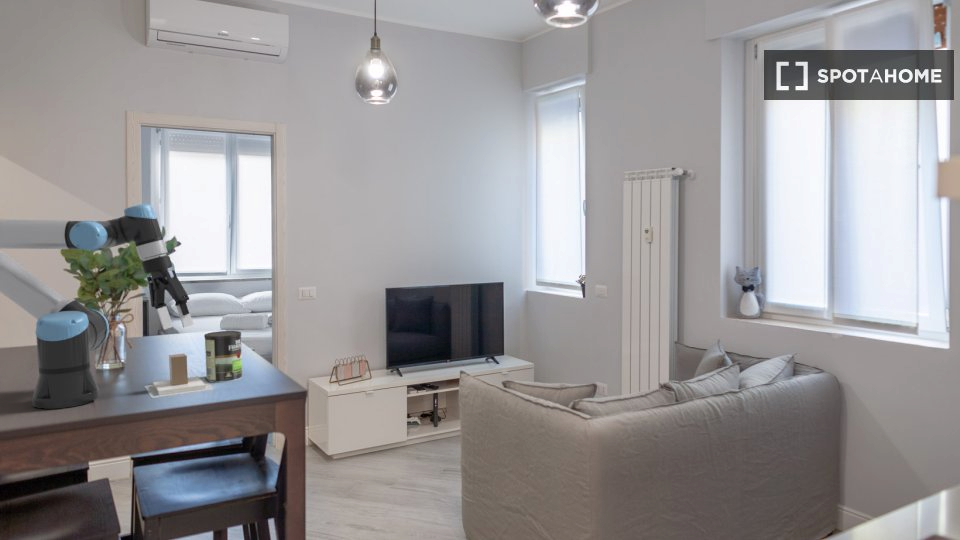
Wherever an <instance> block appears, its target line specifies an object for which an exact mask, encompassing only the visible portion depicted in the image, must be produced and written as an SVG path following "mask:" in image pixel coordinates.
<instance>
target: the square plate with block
mask: <svg viewBox="0 0 960 540" xmlns="http://www.w3.org/2000/svg"><path fill="white" fill-rule="evenodd" d="M187 360H188V355H187V354H185V353H176V354H169V355H168V362H169V363H168V364H169V365H168V366H169V379H168V380H161V381H153V382H152V385H153V387H154V389H155V390H156V392H157V393H158V395H165V394H172V393H180V392H187V391H194V390H201V389H206V384H205V383H204V382H203V381H202V380H201V379H202V378H200V377H199V376H191V377H188V361H187Z"/></svg>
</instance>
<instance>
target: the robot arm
mask: <svg viewBox="0 0 960 540" xmlns="http://www.w3.org/2000/svg"><path fill="white" fill-rule="evenodd" d="M123 213H124V215H123V216H121V217H118V218H112V219H108V220H104V221H101V220H99V221H97V220H96V221H94V220H52V219H51V220H49V219H48V220H47V219H44V220H43V219H40V220H39V219H7V218H6V219H4V218H3V219H1V218H0V293H1V294H2V295H4V296H5V297H6V298H7V299H9V300H10V301H12V303H15V304H16V305H17V306H18V307H19V308H21V309H23V310H24V311H25V312H27V313H28V314H30V315H31V316H32V317H33V318H34V319H36V320H37V321H36V325H35V326H36V328H35V336H36V349H37V351H36V352H37V364H38V378H37V381H36V384H35V388H34V391H33V394H32V398H31V399H32V407H33V406H34V408H35V407H37V408H36V409H41V408H44V409H45V410H47V409H48V410H50V409H51V410H52V409H55V410H56V409H64V408H71V407H76V406H82V405H85V404H90V403H93V402H94V401H95V400H96V399H99V397H100V387H99V386H98V384H97V381H96V379H95V377H94V375H93V372H92V371H91V357H90V356H91V355H90V352H91V351H95V350H96V349H99V348H100V347H101V345H103V344H104V342H105V341H106V340H107V338H108V336H109V333H110V325H109V321H108V319H107V318H106V316H105V315H104V314H103V313H102V312H101V311H98V310H96V309H93V308H88V307H86V306H85V305H84V304H82V303H81V302H80V301H78V300H77V299H74V298H73V299H71V298H70V299H66V298H65V297H64V296H62V295H61V294H60V293H58V292H57V291H56V290H54V289H53V288H52V287H50V286H49V285H47V284H46V283H45V282H43V281H42V280H41V279H40V278H38V277H37V276H35V275H34V274H33V273H32V272H30V271H29V270H28V269H26V268H25V267H24V266H22V264H19V263H18V262H17V261H16V260H14V259H13V258H12V257H11V256H9V255H8V254H7V253H5V252H4V251H2V249H7V250H8V249H13V250H14V249H17V250H19V249H21V250H22V249H25V250H27V249H28V250H32V249H33V250H34V249H35V250H45V249H46V250H82V251H90V252H98V251H99V252H100V251H105V250H107V249H110V248H113V247H119V246H122V245H124V244H128V243H129V244H130V243H132V242H133V243H134V244H135V250H136V252H137V255H138V258H139V260H141V261H142V262H141V266H142V268H143V272H144V273H145V274H146V275H147V274H150V276H149V275H148V276H146V279H147V283H148V288H149V296H150V297H149V298H150V306H151V308H154V309H155V310H156V312H157V315H158V318H159V320H160V323H161V327H162V330H163V331H165V330H167V329H168V330H169V329H170V328H173V327H174V326H173V322H172V319H171V316H170V313H169V310H168V308H167V304H166V303H165V299H166V298H165V297H166V296H165V294H166V292H167V293H168V294H169V296H171V298H172V299H173V301H175V304H174V306H175V308H176V309H177V313H178V315H179V318H180V322H181V324H182V327H183V328H187V327H190V326H194V322H193V318H192V316H191V312H190V310H189V307H188V301H190V296H189V295H188V294H187V291H186V290H185V288H184V286H183V284H182V283H181V281H180V280H179V278H178V276H177V273H176V271H175V270H174V269H173V270H168V269H170V268H172V267H173V263H172V261H171V257H170V255H168V249H167V243H166V242H165V240H164V237H163V233H162V231H161V227H160V224H159V221H158V217H157V216H156V213H155V211H154V208H153V206H152V205H151V204H149V203H143V204H136V205H133V206H129V207H127V208H124V210H123ZM44 409H43V410H44Z"/></svg>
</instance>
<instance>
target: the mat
mask: <svg viewBox="0 0 960 540" xmlns="http://www.w3.org/2000/svg"><path fill="white" fill-rule="evenodd" d="M200 379H201V380H202V381H203V382H204V383H205V384H206V389H201V390H194V391H187V392H180V393H172V394H165V395H158V393H157V392H156V390H155V389H154V387H153V384H150V385H144V388H145V390H146V391H147V393H148V395H149V397H150V398H151V399H154V398H155V399H156V398H163V397H171V396H178V395H185V394H192V393H199V392H206V391H213V390H214V391H215V390H216V389H215V387H214V386H212V385H211V383H210V382H209V381H207V379H205V378H203V377H202V378H200Z"/></svg>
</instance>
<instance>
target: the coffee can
mask: <svg viewBox="0 0 960 540" xmlns="http://www.w3.org/2000/svg"><path fill="white" fill-rule="evenodd" d="M203 336H204V346H205V347H204V350H205V351H204V352H205V368H206V369H205V370H206V373H205V374H206V381H207V382H209V383H210V382H212V383H223V382H231V381H237V380H240V379H242V378H243V362H242V360H243V357H242V332H241V331H238V330H219V331H213V332H208V333H205V334H204V335H203Z"/></svg>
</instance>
